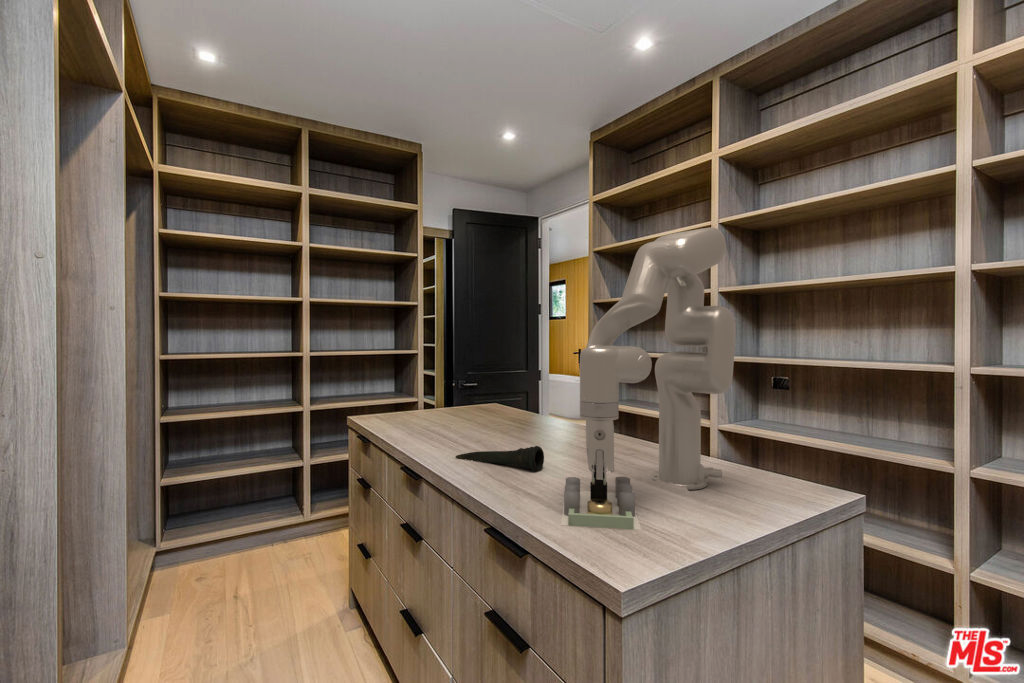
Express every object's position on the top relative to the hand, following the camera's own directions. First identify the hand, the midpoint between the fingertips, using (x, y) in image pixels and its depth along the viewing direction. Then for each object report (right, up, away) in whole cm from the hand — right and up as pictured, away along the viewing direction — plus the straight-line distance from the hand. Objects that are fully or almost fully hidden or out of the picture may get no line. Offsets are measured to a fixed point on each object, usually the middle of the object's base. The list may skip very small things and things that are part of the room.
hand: (598, 503), depth 94 cm
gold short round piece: (0, -1, -4) cm, 4 cm away
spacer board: (0, -2, +1) cm, 3 cm away
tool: (-22, -3, +38) cm, 44 cm away
